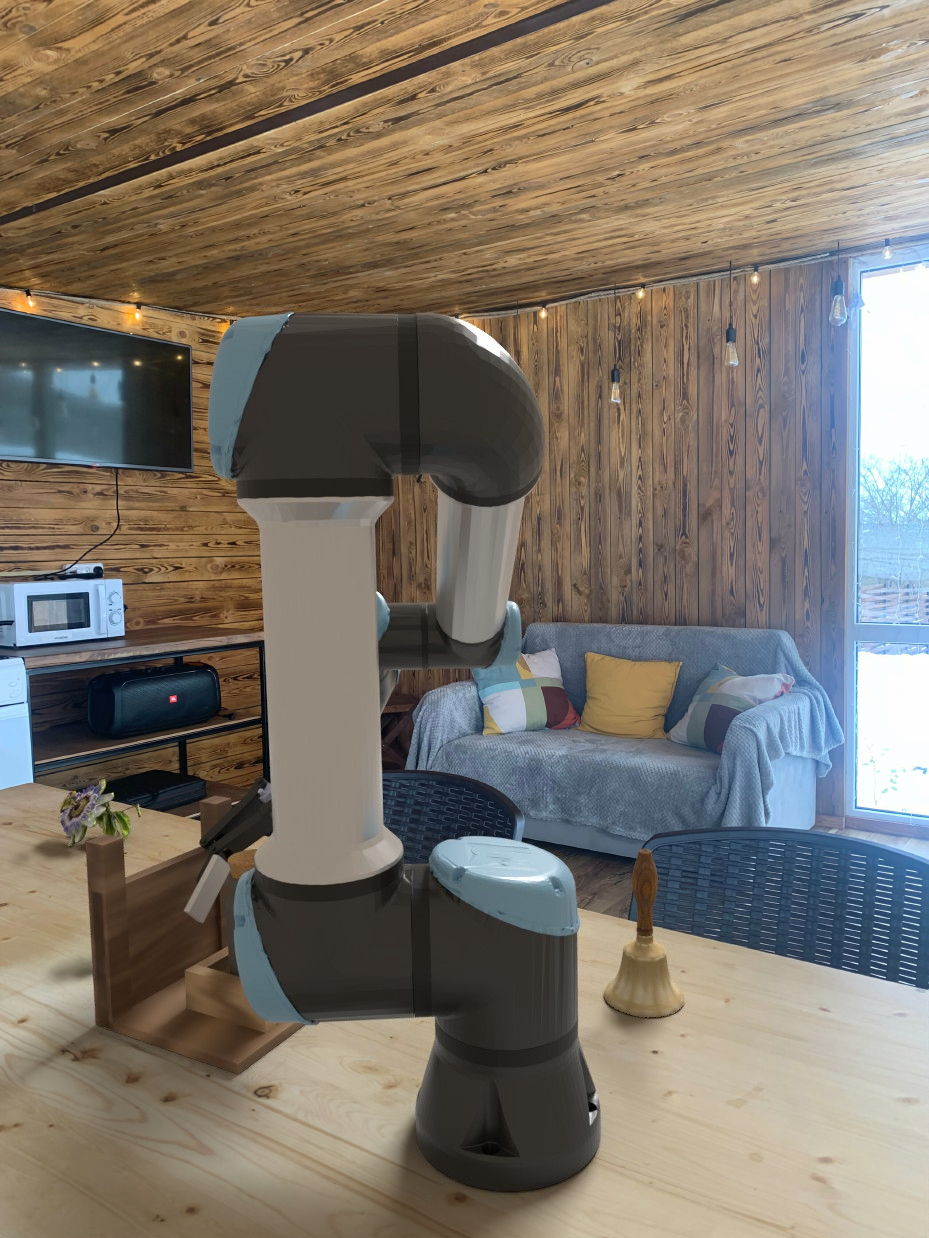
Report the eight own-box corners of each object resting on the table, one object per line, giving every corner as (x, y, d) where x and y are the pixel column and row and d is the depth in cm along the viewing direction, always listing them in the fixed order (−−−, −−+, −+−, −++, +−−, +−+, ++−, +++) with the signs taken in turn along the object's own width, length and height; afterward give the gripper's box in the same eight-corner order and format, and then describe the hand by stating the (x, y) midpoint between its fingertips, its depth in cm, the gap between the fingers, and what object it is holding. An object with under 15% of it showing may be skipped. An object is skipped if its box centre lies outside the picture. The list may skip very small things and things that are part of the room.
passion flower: (75, 878, 149) (38, 815, 151) (132, 847, 157) (97, 788, 159) (99, 853, 142) (60, 788, 144) (158, 822, 150) (120, 761, 152)
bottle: (300, 989, 97) (291, 851, 96) (260, 1015, 92) (250, 869, 91) (260, 977, 100) (251, 843, 99) (219, 1001, 95) (209, 860, 94)
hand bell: (701, 1000, 96) (702, 851, 94) (647, 1027, 90) (647, 870, 89) (640, 971, 102) (640, 831, 101) (587, 995, 97) (586, 848, 96)
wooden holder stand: (353, 988, 99) (348, 816, 98) (238, 1074, 84) (230, 871, 82) (222, 953, 109) (215, 795, 107) (95, 1024, 93) (85, 841, 91)
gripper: (434, 781, 102) (359, 968, 90) (260, 759, 114) (174, 922, 102) (407, 744, 97) (324, 937, 85) (228, 724, 108) (134, 892, 97)
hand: (242, 929), depth 93 cm, fingers open, 13 cm apart
